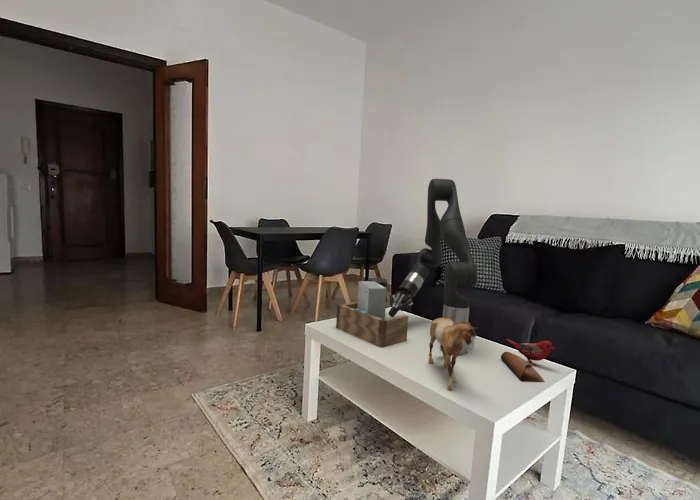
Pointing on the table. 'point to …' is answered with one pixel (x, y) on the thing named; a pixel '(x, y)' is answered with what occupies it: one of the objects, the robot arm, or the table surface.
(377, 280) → the coffee jar
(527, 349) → the decorative bird figurine
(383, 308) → the hard drive box
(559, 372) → the table surface
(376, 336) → the wooden box
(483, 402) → the table surface
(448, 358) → the horse figurine
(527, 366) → the sunglasses case
